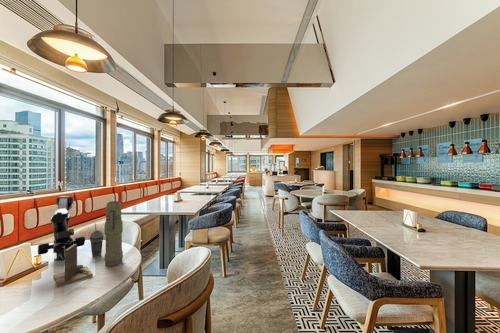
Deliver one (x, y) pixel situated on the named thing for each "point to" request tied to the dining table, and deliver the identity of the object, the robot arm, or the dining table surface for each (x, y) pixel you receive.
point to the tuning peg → (72, 262)
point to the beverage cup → (96, 242)
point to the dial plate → (77, 277)
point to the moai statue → (113, 234)
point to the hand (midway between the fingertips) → (64, 259)
